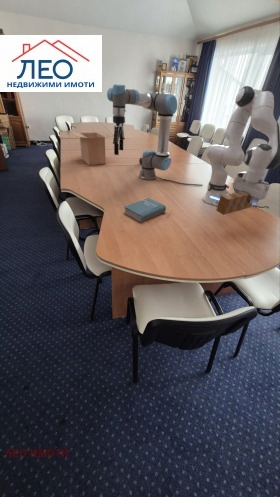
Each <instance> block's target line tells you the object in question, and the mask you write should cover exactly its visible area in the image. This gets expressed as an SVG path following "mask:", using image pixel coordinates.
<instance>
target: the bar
mask: <svg viewBox="0 0 280 497" xmlns="http://www.w3.org/2000/svg"><path fill="white" fill-rule="evenodd" d="M229 193H230V194H226V195H221V196H220V200H219V203H218V206H216V210H215V211H216V212H218V213H219V214H221V215H222V216H224V215H229V214H232V213H235V212H239V211H242V210H246V209H250V208H251V207H252V205H253V202H252V203H251V204H250V203H248V201H249V200H251V199H252V196H251V195H250V194H248V193H246V192H244V191H239V190H238V191H235V192H229Z"/></svg>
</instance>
